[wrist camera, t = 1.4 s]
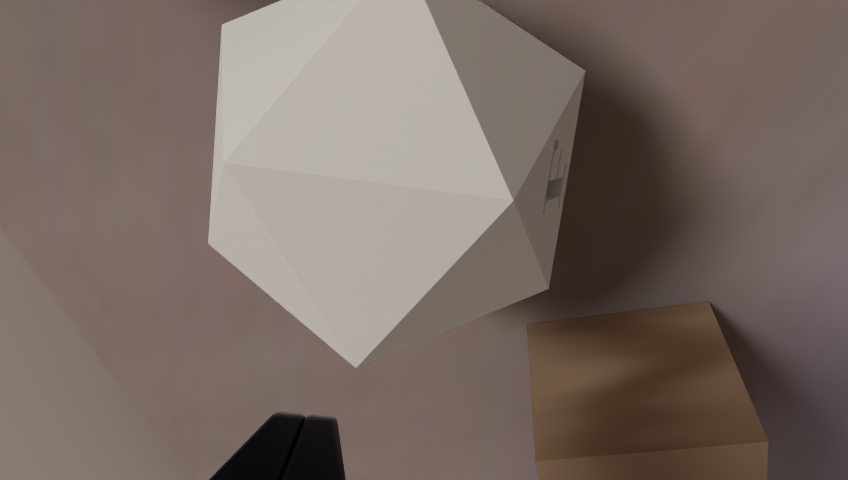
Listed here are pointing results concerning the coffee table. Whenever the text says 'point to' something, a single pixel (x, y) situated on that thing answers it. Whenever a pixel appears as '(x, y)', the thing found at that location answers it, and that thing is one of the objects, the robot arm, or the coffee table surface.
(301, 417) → the robot arm
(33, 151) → the coffee table surface
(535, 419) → the walnut block
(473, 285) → the die
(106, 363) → the coffee table surface
